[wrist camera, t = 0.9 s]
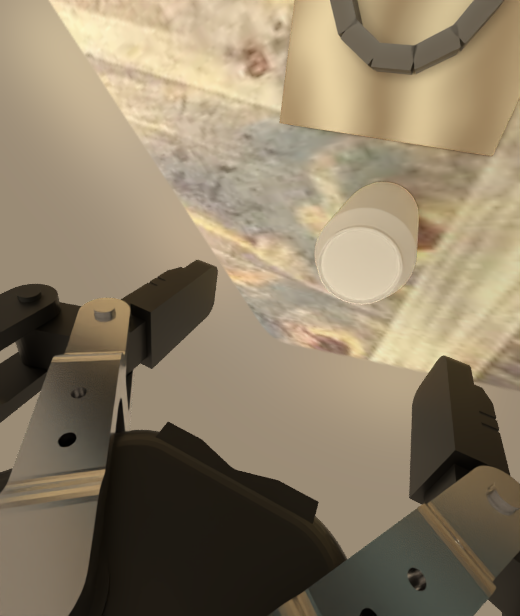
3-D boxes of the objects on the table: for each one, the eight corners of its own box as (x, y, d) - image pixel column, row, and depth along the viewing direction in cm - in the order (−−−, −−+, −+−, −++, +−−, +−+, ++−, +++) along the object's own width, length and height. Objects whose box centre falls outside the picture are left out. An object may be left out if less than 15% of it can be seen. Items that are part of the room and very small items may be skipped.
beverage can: (430, 185, 26) (432, 226, 16) (406, 256, 29) (397, 325, 20) (352, 174, 28) (314, 206, 18) (338, 243, 31) (300, 299, 22)
